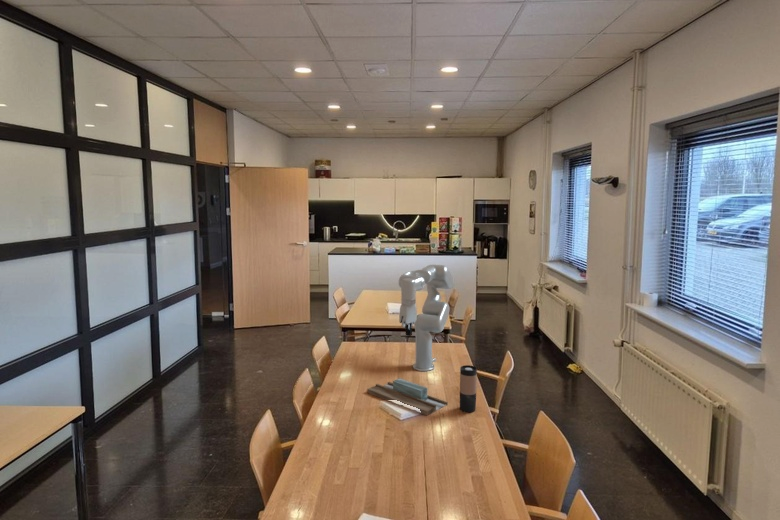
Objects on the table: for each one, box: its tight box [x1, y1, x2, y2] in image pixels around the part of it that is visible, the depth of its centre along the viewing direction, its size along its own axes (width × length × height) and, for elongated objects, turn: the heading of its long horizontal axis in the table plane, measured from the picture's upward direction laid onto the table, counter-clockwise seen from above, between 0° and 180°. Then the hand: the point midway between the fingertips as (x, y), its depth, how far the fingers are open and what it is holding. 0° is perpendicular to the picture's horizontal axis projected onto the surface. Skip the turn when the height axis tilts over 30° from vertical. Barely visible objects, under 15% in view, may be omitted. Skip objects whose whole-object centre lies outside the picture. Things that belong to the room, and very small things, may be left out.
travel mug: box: [459, 364, 478, 414], centre depth 221 cm, size 8×8×20 cm
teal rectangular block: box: [392, 378, 428, 401], centre depth 236 cm, size 5×18×6 cm, turn 48°
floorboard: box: [366, 381, 448, 416], centre depth 234 cm, size 16×38×3 cm, turn 47°
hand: (408, 335), depth 256 cm, fingers closed
